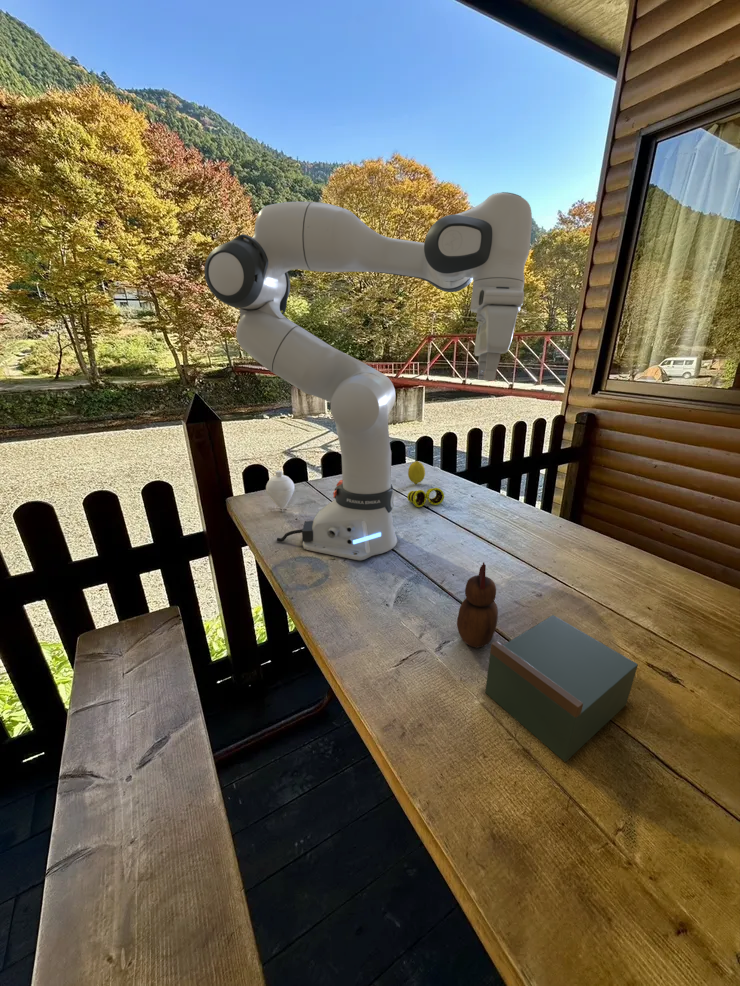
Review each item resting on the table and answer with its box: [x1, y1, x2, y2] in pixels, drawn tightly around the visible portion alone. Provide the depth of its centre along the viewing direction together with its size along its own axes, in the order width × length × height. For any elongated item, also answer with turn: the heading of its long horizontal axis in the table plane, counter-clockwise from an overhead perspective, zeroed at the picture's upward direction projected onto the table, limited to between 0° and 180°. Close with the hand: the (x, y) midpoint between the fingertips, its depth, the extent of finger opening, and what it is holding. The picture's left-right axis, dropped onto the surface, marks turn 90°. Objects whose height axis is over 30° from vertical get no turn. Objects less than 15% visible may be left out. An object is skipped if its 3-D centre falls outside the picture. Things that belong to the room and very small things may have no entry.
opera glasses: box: [407, 487, 445, 508], centre depth 119 cm, size 10×5×5 cm, turn 108°
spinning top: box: [265, 469, 295, 512], centre depth 113 cm, size 8×8×12 cm
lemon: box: [407, 460, 426, 485], centre depth 134 cm, size 6×6×8 cm
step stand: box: [485, 614, 639, 763], centre depth 54 cm, size 12×14×9 cm
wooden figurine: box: [456, 561, 499, 648], centre depth 64 cm, size 7×6×15 cm
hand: (485, 380), depth 78 cm, fingers open, 8 cm apart
